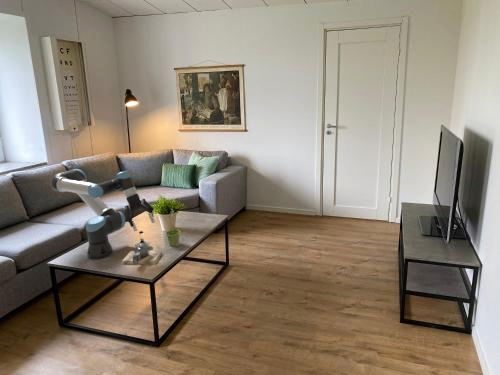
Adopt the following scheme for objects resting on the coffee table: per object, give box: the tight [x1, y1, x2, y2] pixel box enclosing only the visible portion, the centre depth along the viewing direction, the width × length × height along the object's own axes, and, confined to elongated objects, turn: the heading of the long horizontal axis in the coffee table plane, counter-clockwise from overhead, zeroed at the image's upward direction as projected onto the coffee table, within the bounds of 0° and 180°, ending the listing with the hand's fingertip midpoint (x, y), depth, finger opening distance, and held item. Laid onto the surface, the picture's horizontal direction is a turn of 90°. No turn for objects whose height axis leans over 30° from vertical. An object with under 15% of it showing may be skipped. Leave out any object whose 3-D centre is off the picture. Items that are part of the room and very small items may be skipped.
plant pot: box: [165, 229, 181, 247], centre depth 249 cm, size 9×9×9 cm
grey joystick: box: [134, 230, 151, 248], centre depth 244 cm, size 12×10×10 cm
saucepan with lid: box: [132, 243, 150, 262], centre depth 225 cm, size 16×8×7 cm, turn 176°
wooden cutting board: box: [121, 250, 163, 265], centre depth 231 cm, size 20×14×2 cm
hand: (144, 226), depth 235 cm, fingers open, 13 cm apart
